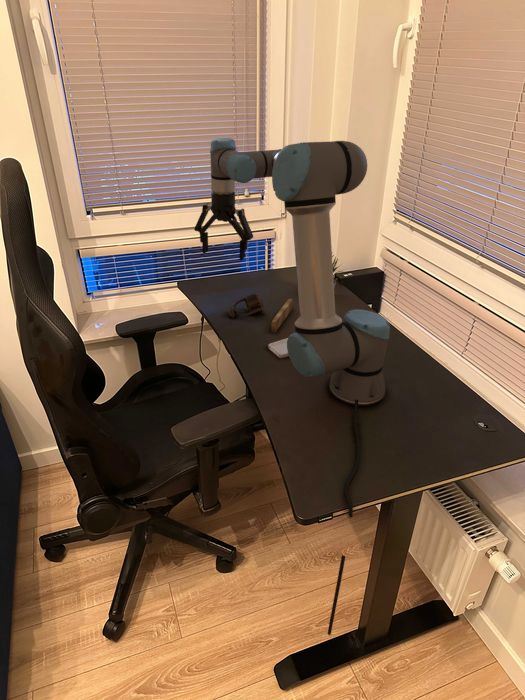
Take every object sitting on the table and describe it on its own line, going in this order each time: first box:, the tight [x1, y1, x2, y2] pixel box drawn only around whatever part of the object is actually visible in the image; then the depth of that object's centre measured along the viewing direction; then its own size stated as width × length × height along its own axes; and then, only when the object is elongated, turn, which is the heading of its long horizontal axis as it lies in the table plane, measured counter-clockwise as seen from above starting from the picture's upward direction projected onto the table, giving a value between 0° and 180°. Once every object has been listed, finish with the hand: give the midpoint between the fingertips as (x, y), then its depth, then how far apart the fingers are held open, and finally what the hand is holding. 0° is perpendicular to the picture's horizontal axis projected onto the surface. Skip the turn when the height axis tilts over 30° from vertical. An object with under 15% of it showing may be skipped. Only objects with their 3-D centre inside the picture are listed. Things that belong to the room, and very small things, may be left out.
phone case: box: [267, 337, 289, 359], centre depth 157 cm, size 7×1×15 cm
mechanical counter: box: [226, 292, 265, 318], centre depth 174 cm, size 7×13×10 cm
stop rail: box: [270, 298, 293, 334], centre depth 171 cm, size 18×1×4 cm, turn 159°
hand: (223, 255), depth 169 cm, fingers open, 13 cm apart
